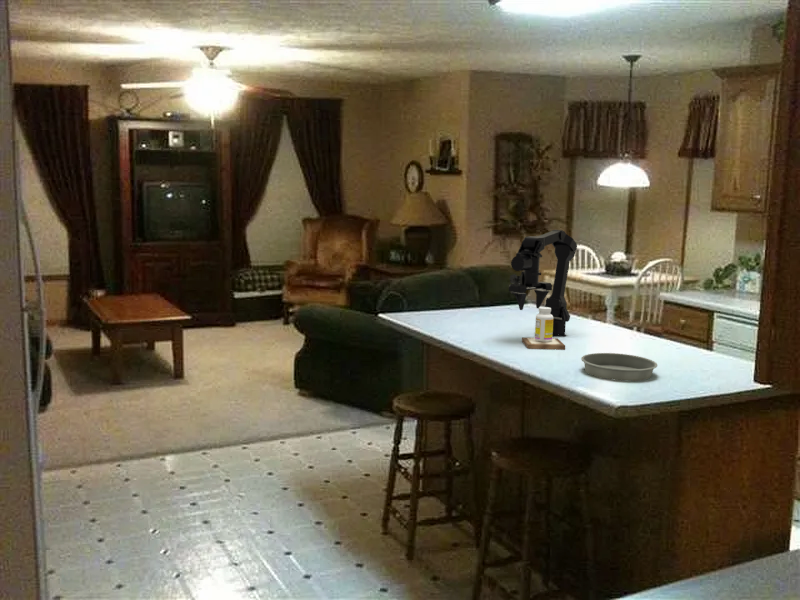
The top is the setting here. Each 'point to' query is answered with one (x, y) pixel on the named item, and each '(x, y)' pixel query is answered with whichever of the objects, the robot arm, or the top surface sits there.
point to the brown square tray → (543, 344)
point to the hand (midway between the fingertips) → (529, 309)
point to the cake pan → (618, 366)
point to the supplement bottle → (544, 325)
